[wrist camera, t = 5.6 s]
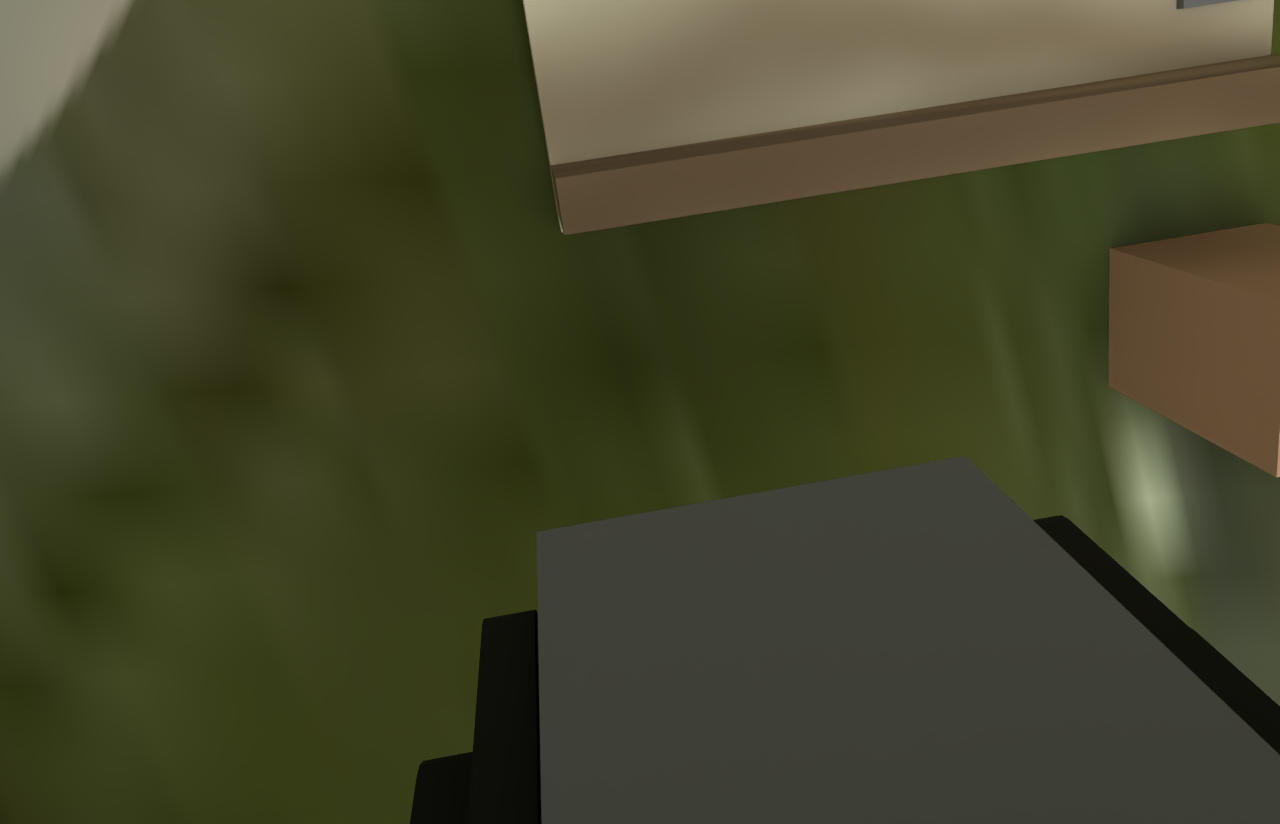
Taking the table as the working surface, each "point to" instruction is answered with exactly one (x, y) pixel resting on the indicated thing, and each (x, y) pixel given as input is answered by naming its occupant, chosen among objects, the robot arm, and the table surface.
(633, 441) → the table surface
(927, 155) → the cream shelf rack
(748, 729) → the grey plug block
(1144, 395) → the terracotta plug block
